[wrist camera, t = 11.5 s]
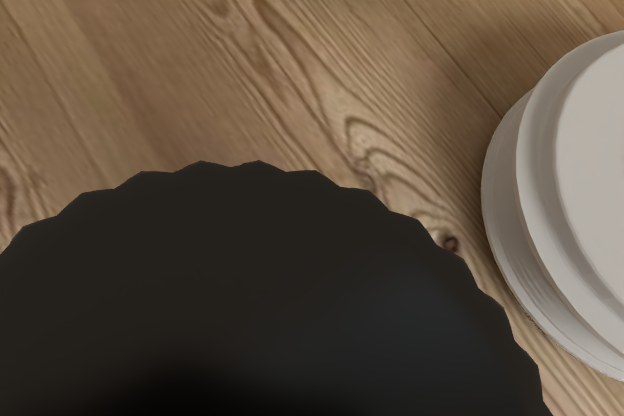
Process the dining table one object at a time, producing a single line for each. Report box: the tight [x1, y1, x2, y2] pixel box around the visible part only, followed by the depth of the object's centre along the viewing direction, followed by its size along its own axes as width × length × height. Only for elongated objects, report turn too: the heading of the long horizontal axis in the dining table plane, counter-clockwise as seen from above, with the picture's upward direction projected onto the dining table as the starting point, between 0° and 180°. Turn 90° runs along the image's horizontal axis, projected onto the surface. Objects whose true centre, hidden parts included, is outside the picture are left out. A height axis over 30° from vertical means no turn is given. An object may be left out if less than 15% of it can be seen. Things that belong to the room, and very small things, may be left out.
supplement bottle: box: [0, 160, 553, 416], centre depth 8 cm, size 7×7×12 cm
